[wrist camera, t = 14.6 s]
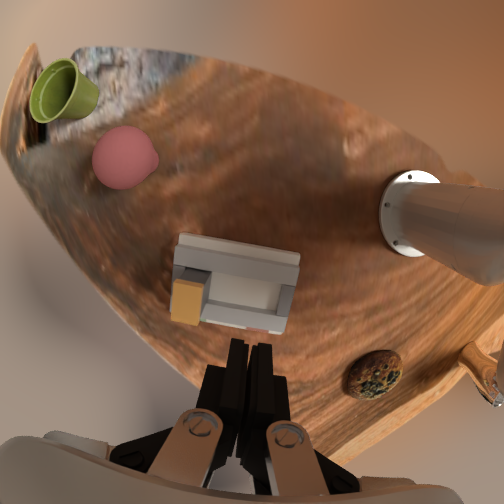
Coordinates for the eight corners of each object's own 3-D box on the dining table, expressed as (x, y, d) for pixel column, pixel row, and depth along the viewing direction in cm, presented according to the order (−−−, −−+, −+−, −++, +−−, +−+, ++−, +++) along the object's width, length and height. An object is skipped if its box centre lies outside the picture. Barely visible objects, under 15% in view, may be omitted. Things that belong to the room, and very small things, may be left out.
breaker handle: (212, 267, 37) (201, 288, 30) (208, 300, 38) (197, 325, 31) (189, 263, 37) (173, 282, 30) (185, 295, 38) (170, 320, 31)
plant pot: (119, 96, 33) (87, 81, 24) (77, 141, 34) (42, 136, 26) (93, 63, 31) (63, 46, 23) (56, 105, 33) (22, 97, 24)
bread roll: (366, 341, 41) (379, 360, 36) (408, 350, 43) (421, 367, 38) (332, 388, 44) (340, 408, 39) (376, 393, 46) (385, 410, 42)
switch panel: (299, 252, 38) (302, 259, 35) (280, 329, 41) (281, 340, 38) (182, 231, 37) (176, 236, 34) (174, 310, 40) (169, 319, 38)
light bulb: (183, 146, 34) (149, 132, 23) (162, 194, 36) (122, 202, 25) (140, 129, 34) (95, 113, 22) (121, 176, 36) (71, 177, 24)
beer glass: (452, 371, 43) (486, 414, 28) (459, 344, 41) (500, 386, 27) (474, 361, 42) (509, 400, 28) (482, 335, 41) (522, 372, 26)
